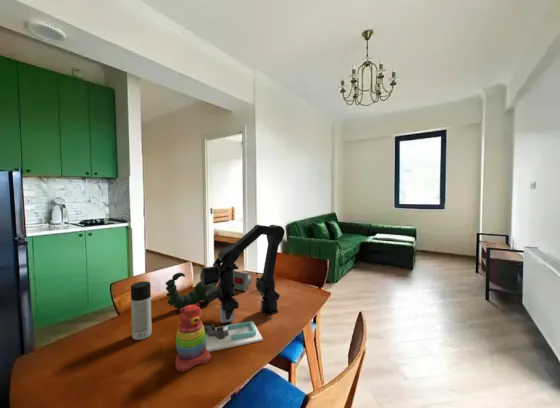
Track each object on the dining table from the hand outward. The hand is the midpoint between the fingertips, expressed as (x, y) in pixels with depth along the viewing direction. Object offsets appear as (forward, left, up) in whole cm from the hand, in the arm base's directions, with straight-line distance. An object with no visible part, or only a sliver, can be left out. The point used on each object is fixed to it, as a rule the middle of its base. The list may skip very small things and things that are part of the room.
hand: (227, 317), depth 111 cm
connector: (0, 0, -1) cm, 1 cm away
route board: (0, +11, -2) cm, 11 cm away
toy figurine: (+12, -21, -2) cm, 24 cm away
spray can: (+32, -1, -2) cm, 32 cm away
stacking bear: (+15, +20, -2) cm, 25 cm away
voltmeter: (-20, -32, -2) cm, 38 cm away
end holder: (-4, +11, -2) cm, 12 cm away
